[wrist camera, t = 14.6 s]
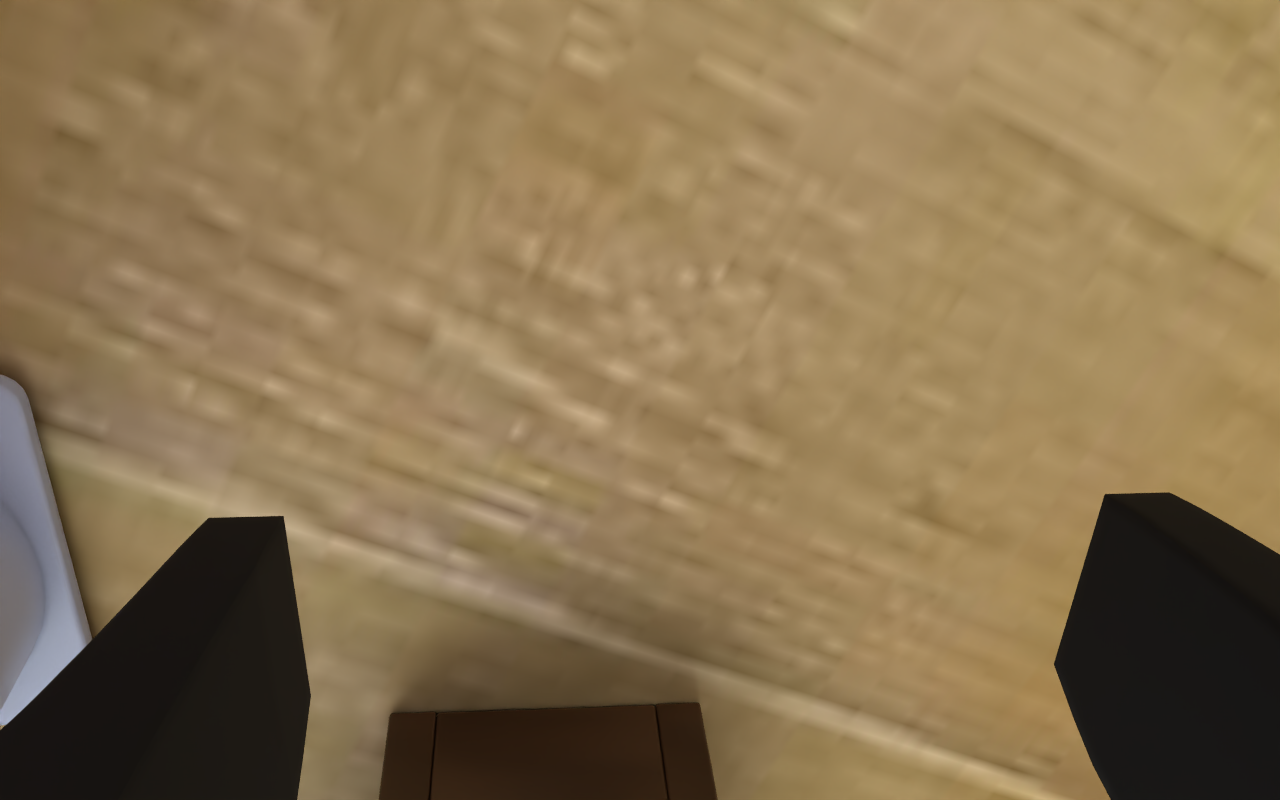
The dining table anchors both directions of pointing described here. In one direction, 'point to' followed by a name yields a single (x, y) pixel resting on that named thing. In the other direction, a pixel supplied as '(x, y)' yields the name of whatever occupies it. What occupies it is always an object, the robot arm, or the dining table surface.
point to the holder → (549, 754)
